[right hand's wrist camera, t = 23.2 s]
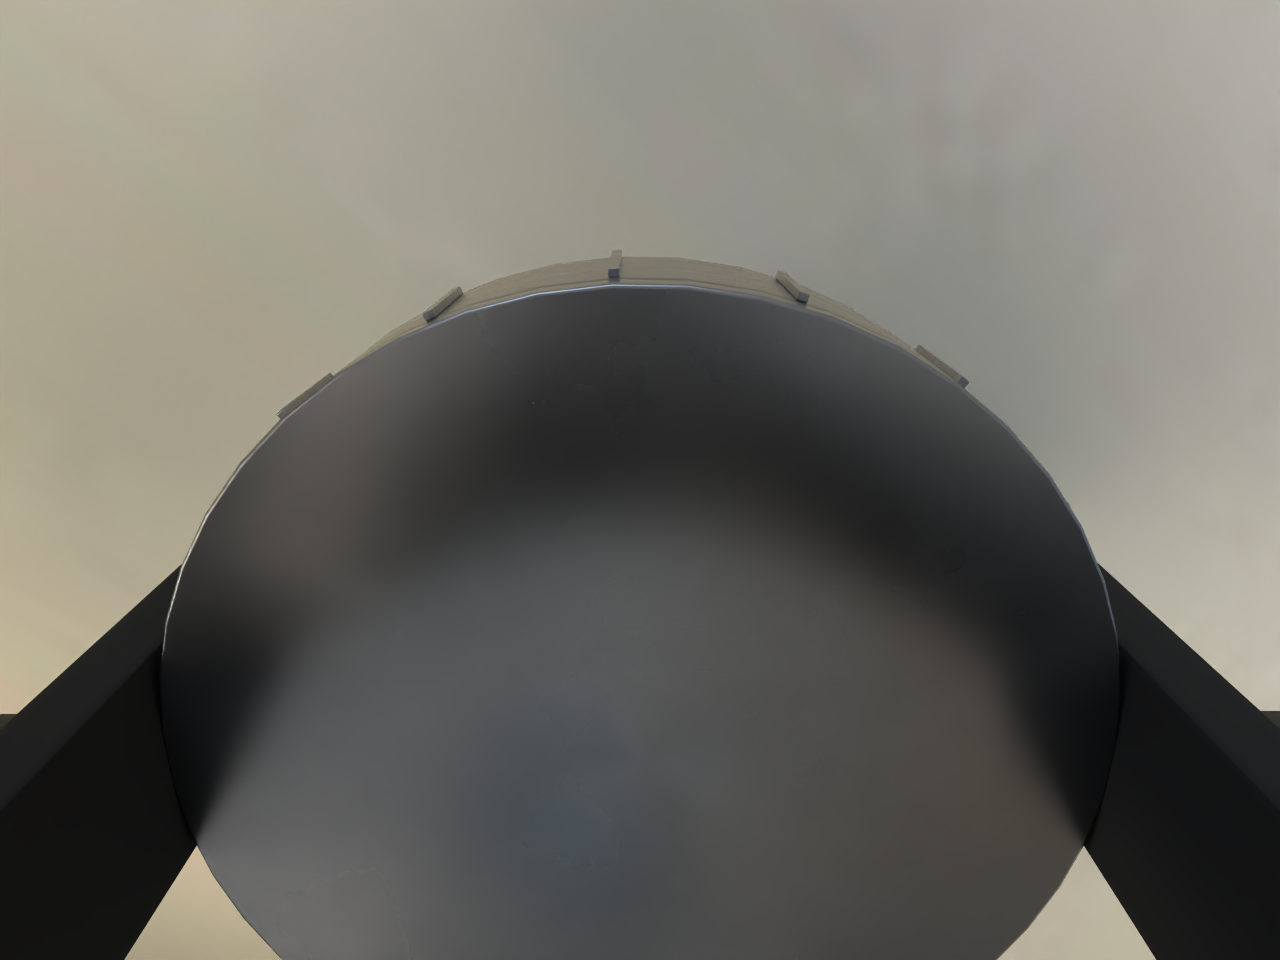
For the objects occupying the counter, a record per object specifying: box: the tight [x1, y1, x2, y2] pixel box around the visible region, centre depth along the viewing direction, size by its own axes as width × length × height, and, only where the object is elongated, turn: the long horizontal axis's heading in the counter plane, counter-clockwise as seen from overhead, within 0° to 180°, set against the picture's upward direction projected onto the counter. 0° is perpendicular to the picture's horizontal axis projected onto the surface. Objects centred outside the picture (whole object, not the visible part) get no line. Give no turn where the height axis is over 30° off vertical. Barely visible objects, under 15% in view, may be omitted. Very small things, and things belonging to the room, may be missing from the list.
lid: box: [159, 250, 1122, 960], centre depth 11 cm, size 11×11×2 cm
